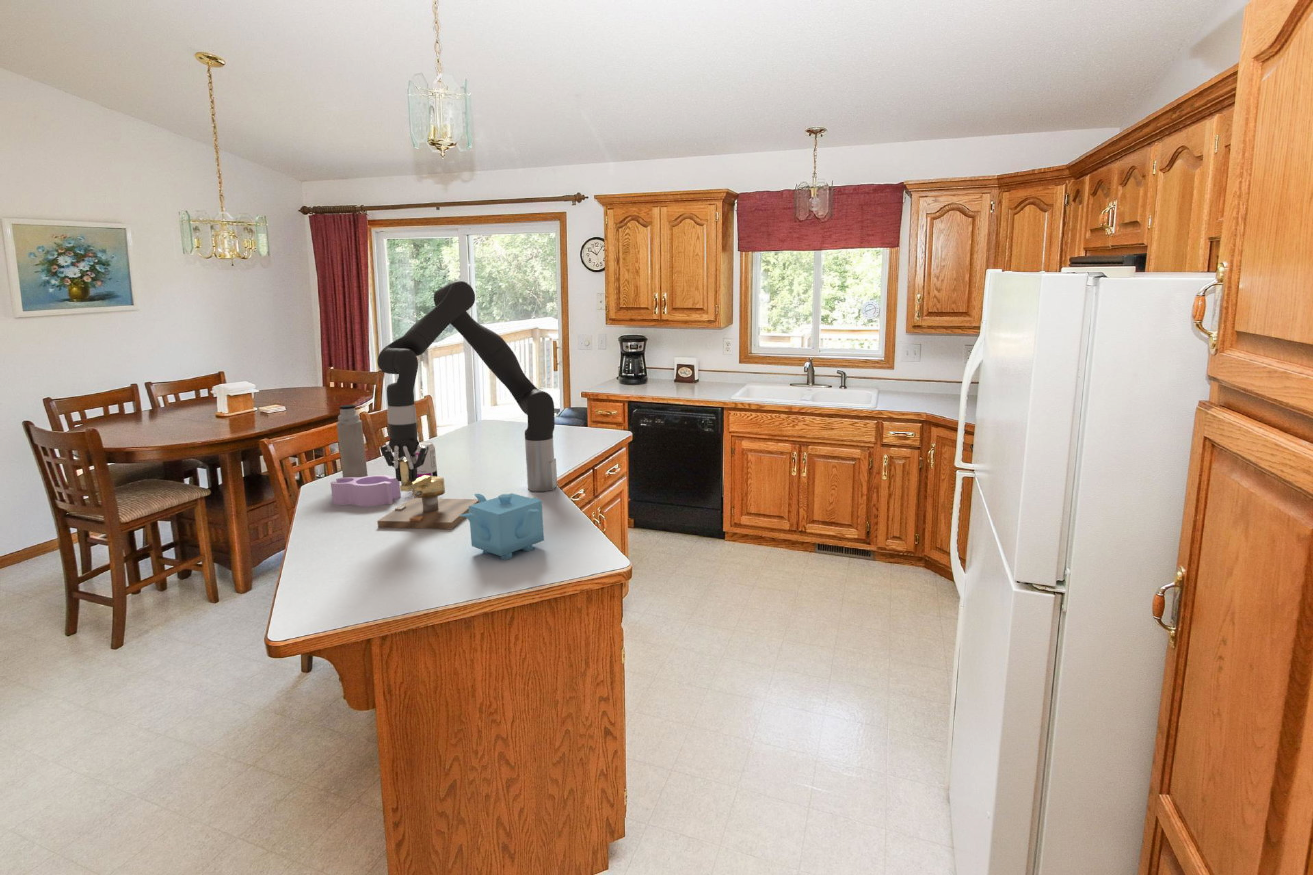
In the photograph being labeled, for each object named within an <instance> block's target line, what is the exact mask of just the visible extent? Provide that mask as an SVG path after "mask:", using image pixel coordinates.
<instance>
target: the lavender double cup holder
mask: <svg viewBox="0 0 1313 875" xmlns="http://www.w3.org/2000/svg"><path fill="white" fill-rule="evenodd" d="M400 484H401V482H400V481H398V479H396V476H392V475H388V474H387V475H385V474H382V475H381V474H375V475H368V476H366V477H344V478H343V477H339V478H336V479H335V481H330V490H331V497H332V504H333V505H340V506H342V505H354V506H358V507H375V506H380V505H381V506H382V505H386V504H387V505H392V504H394V500H395V499H399V498H402V497H401V496H402V495H401V489H400V486H401V485H400Z"/></svg>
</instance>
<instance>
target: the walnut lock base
mask: <svg viewBox="0 0 1313 875" xmlns="http://www.w3.org/2000/svg"><path fill="white" fill-rule="evenodd" d="M477 503H479V500H478V499H477V498H475V499H473V498H439V496H436V497H431V498H418V497H412V498H411V499H409V500H407V501H406V502H404V503H403V504H401V505H398V506H396V507H395V508H394V510H391V512H389V513H388V514H387V513H386V515H384V516H382V517H381V518H380V519H378V520H377V528H379V529H380V528H384V529H385V528H387V529H388V528H390V529H424V530H426V529H427V530H430V529H431V530H453V529H454V528H455V527H456V526H458V525H459V524H460V523H461V522H462V521H463V520H465V519H467V518H466V517H462V516H460V515H462V514H466V513H469V506H471V505H474V504H477Z"/></svg>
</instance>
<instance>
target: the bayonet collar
mask: <svg viewBox="0 0 1313 875" xmlns="http://www.w3.org/2000/svg"><path fill="white" fill-rule="evenodd" d="M399 465H400V475H401V481H400V484H401V485H400V492H410V491H412V494H413V498H431V497H436V496H437V497H440V496H442V495H444V494H445V493H446V486H445V478H444V477H443V476H438V477H436V476H427V475H424V476H422V477H419V478H417V479H416V481H414V482H410V473H409V469H410V467H409V463H408V462H407V459H406V458H403V460H400V461H399Z"/></svg>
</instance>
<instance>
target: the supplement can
mask: <svg viewBox="0 0 1313 875" xmlns="http://www.w3.org/2000/svg"><path fill="white" fill-rule="evenodd" d="M418 442H419V444H420V445H422V446H424V447H425V446H428V448H429V449H428V452H427V455H426V458H425V461H424V464H423V465H422V466H420V467H417V475H418V477H417V478H419V477H422V476H424V475H427V476H436V477H439V475H438V467H437V466H438V465H437V455H436V447H435V444H433V443H434V442H432V441H418ZM415 453H416V457H417V458H416V461H417V459H418V456H419V453H418V449H417V450H416V452H415Z"/></svg>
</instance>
